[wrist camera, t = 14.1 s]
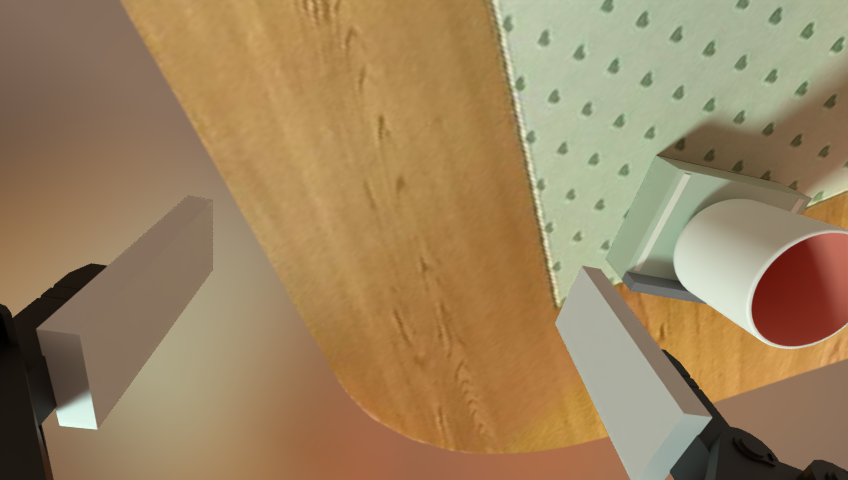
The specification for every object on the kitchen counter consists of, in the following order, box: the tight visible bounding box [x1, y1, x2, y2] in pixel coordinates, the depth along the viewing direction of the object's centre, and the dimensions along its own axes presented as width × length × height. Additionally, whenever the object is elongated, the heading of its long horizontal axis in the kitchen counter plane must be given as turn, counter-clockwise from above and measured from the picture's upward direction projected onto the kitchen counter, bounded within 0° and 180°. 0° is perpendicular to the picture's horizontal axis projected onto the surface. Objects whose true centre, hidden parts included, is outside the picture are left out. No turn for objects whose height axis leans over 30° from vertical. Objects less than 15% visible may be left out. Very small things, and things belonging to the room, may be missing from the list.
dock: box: [605, 156, 812, 304], centre depth 43 cm, size 12×14×6 cm
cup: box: [673, 199, 848, 349], centre depth 37 cm, size 10×10×10 cm
